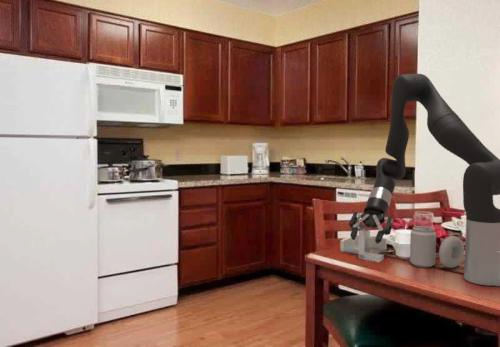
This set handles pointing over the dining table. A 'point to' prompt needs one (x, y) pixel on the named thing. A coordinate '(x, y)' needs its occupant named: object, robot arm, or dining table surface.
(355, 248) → the base plate
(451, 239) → the donut
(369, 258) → the bracket
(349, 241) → the walls
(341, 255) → the dining table surface
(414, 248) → the can
